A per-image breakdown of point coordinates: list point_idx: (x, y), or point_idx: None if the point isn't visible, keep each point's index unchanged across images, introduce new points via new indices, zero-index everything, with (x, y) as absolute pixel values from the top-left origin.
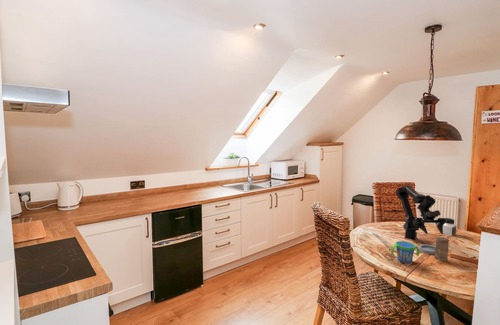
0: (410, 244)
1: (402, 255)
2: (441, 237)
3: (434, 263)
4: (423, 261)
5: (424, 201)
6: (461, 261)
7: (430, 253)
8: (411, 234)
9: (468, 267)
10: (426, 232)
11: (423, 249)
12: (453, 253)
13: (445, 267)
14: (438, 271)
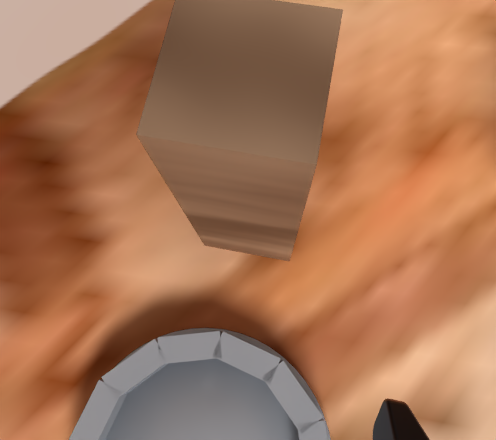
0: None
1: None
2: (198, 132)
3: (398, 142)
4: (485, 198)
5: None
6: (90, 141)
7: (272, 349)
8: None
9: (144, 36)
10: (419, 427)
11: (324, 429)
12: None
13: (352, 61)
14: (474, 10)
